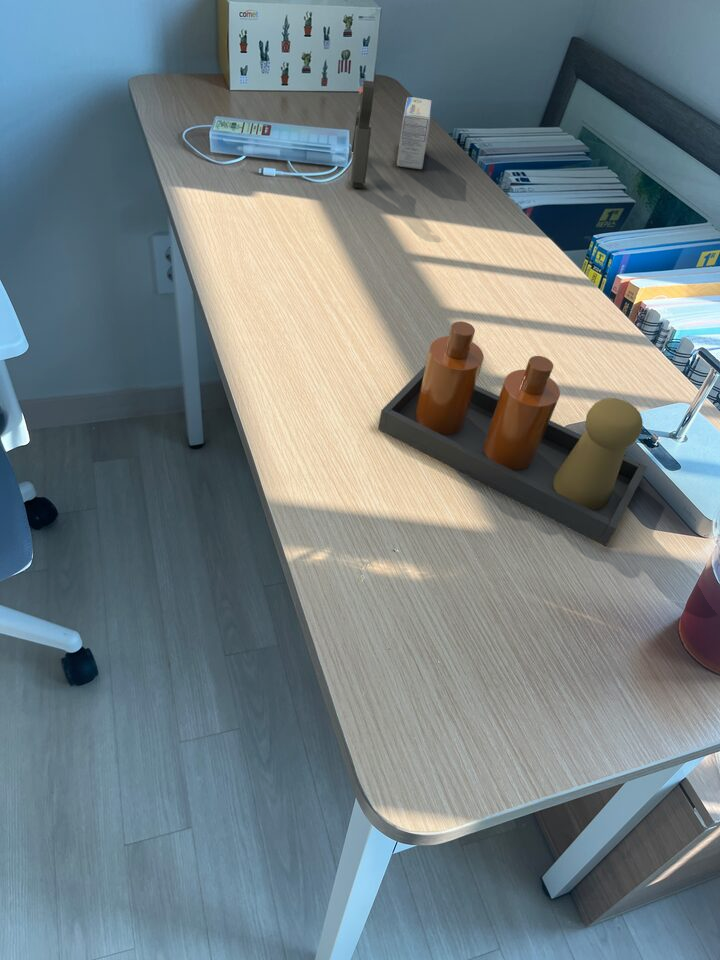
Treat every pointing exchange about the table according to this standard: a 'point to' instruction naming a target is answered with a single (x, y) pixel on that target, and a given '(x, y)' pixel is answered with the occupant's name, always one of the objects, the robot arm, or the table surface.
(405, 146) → the medicine box
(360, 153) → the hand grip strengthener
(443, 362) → the amber bottle far
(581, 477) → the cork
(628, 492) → the tray
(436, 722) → the table surface
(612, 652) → the table surface
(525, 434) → the amber bottle middle
